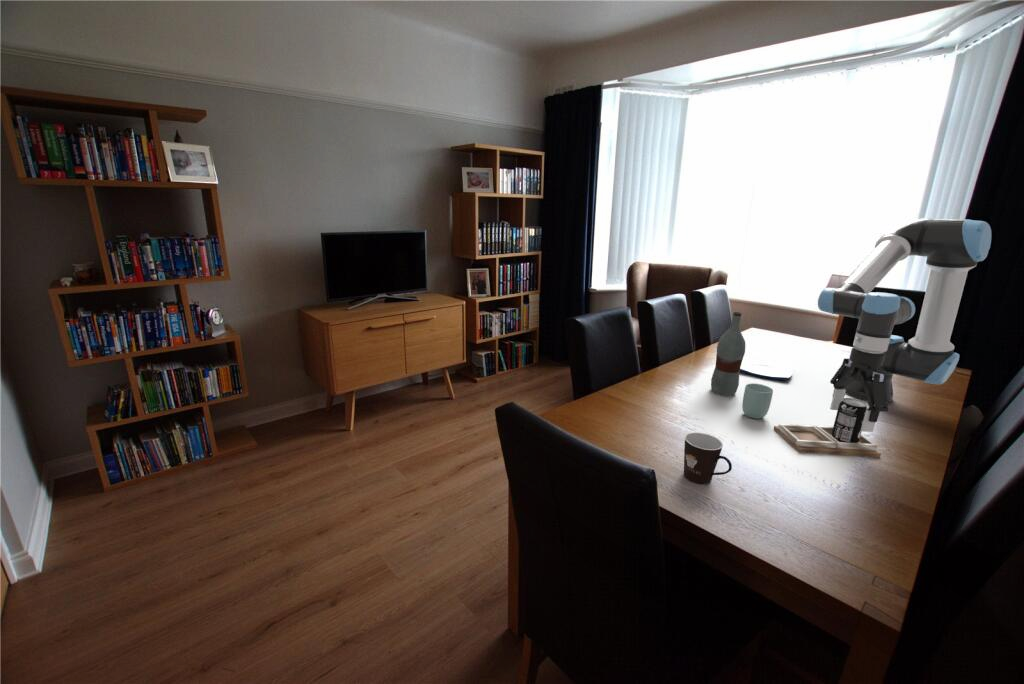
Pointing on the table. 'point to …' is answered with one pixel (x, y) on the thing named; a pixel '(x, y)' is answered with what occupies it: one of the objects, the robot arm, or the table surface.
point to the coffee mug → (702, 457)
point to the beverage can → (849, 420)
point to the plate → (766, 369)
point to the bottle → (729, 359)
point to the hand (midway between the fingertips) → (850, 419)
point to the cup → (756, 400)
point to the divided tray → (824, 441)
